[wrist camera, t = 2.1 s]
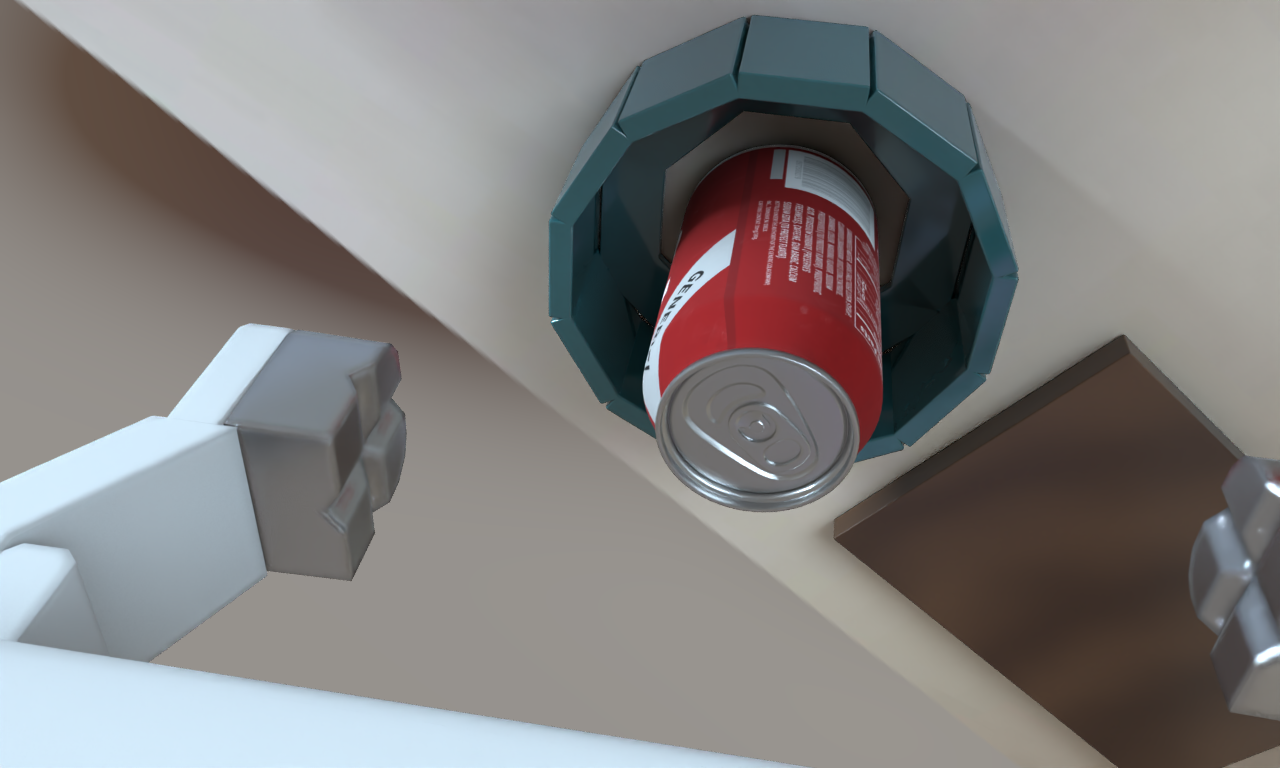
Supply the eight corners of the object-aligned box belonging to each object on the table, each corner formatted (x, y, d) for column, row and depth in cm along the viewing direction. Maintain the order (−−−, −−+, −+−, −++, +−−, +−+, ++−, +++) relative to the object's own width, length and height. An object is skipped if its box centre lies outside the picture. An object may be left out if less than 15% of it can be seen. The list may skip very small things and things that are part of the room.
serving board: (1445, 654, 46) (1457, 677, 45) (1146, 773, 54) (1151, 795, 53) (1123, 333, 40) (1130, 352, 39) (833, 519, 47) (833, 539, 46)
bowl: (1046, 44, 34) (1071, 108, 30) (944, 412, 43) (952, 499, 39) (583, -4, 36) (548, 51, 32) (575, 363, 44) (547, 441, 40)
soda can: (796, 95, 36) (774, 286, 27) (916, 239, 39) (935, 460, 29) (647, 210, 40) (581, 415, 30) (766, 335, 42) (739, 561, 33)
